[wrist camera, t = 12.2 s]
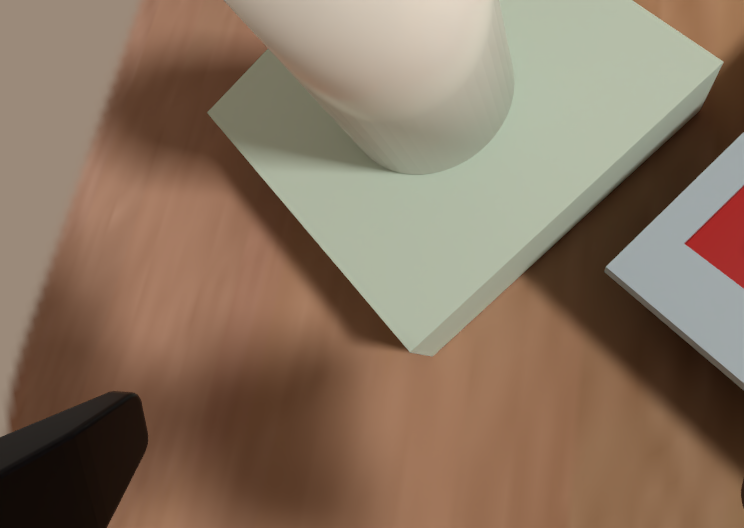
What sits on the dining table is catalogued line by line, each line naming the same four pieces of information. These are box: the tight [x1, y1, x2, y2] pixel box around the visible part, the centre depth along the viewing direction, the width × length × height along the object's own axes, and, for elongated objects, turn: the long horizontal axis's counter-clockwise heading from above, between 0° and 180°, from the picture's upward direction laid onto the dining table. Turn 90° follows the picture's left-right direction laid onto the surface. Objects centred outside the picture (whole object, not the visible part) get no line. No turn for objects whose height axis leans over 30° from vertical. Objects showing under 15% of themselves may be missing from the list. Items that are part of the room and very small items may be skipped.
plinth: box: [207, 0, 723, 356], centre depth 20 cm, size 12×12×3 cm
